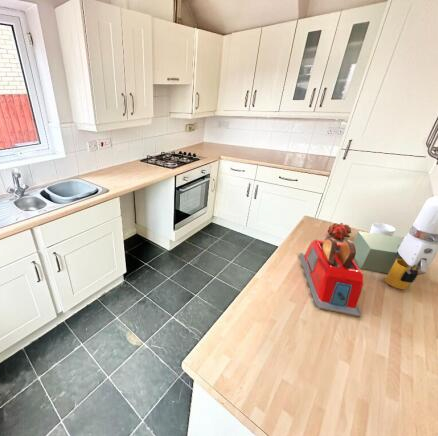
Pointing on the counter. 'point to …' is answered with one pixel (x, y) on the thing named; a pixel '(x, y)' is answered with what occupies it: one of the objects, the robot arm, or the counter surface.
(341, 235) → the dragon fruit
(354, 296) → the toaster
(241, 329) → the counter surface
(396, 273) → the cup
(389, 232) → the white cup
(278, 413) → the counter surface
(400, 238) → the shelf
